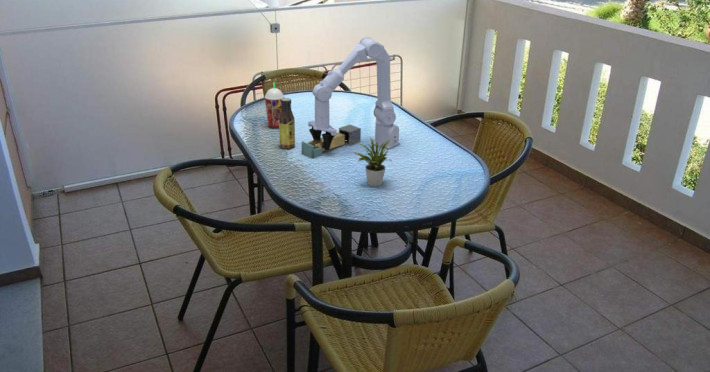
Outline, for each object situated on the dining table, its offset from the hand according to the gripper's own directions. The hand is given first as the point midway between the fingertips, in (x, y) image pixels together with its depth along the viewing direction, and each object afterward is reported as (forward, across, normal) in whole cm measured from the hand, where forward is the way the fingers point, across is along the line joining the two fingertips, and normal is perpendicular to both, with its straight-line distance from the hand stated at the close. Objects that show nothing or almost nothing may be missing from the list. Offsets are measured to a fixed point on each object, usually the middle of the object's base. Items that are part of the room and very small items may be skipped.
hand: (322, 147), depth 238 cm
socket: (+1, 0, -6) cm, 6 cm away
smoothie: (+2, -35, +4) cm, 35 cm away
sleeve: (+1, 0, +15) cm, 15 cm away
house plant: (+2, +34, -5) cm, 35 cm away
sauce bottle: (+2, -13, -8) cm, 15 cm away
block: (+1, 0, +2) cm, 2 cm away
